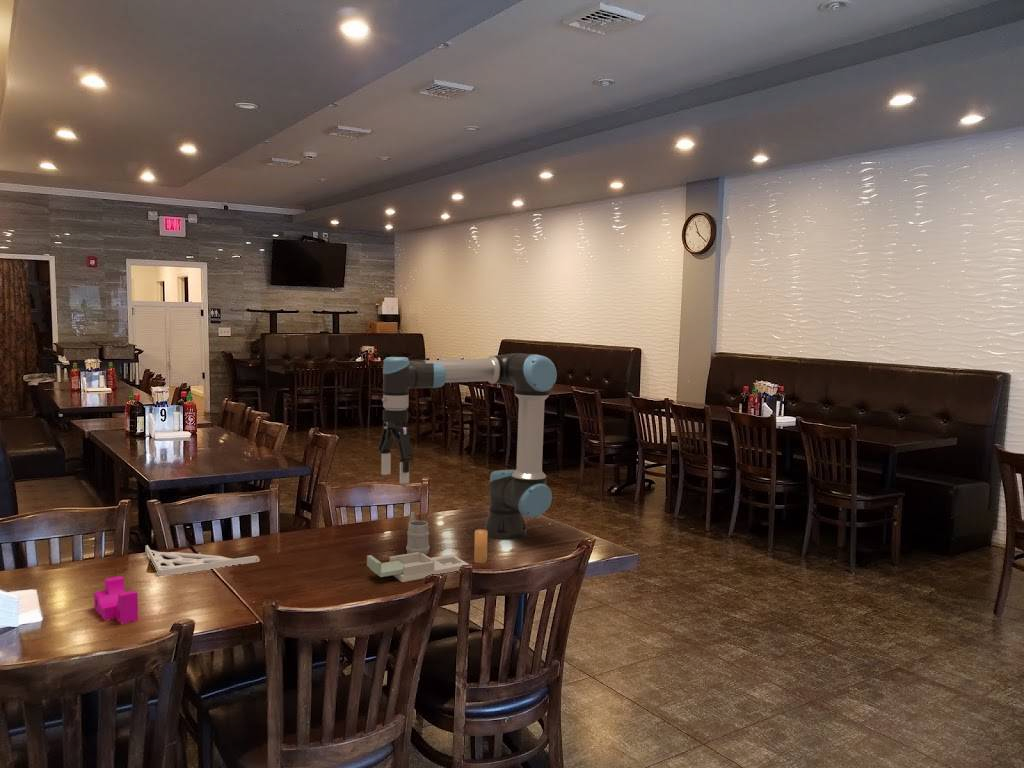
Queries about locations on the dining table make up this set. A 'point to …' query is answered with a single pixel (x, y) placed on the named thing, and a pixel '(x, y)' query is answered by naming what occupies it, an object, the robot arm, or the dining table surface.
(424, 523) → the mug
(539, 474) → the robot arm
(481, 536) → the orange cylinder
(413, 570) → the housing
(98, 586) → the dining table surface
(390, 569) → the pale green l-shaped block
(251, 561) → the shelf bracket
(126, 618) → the toy block
